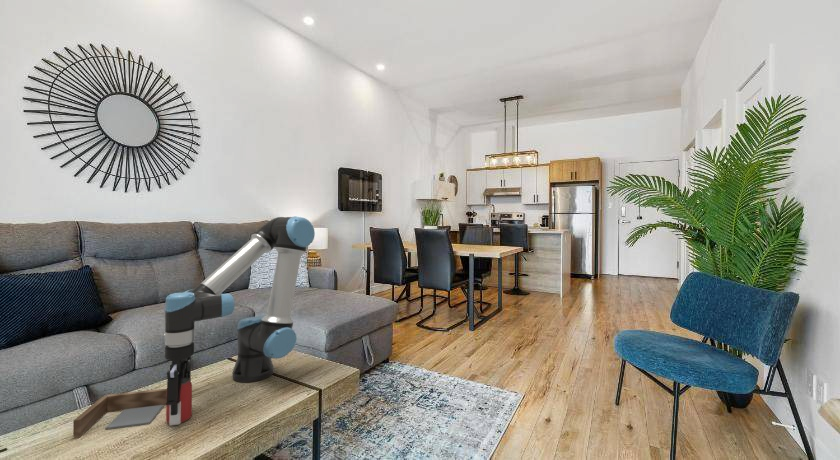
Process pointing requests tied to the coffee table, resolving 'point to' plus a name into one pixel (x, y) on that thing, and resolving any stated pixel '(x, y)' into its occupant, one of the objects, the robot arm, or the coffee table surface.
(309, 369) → the coffee table surface
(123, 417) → the coaster
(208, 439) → the coffee table surface
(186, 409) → the beer can
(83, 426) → the wooden corner frame
